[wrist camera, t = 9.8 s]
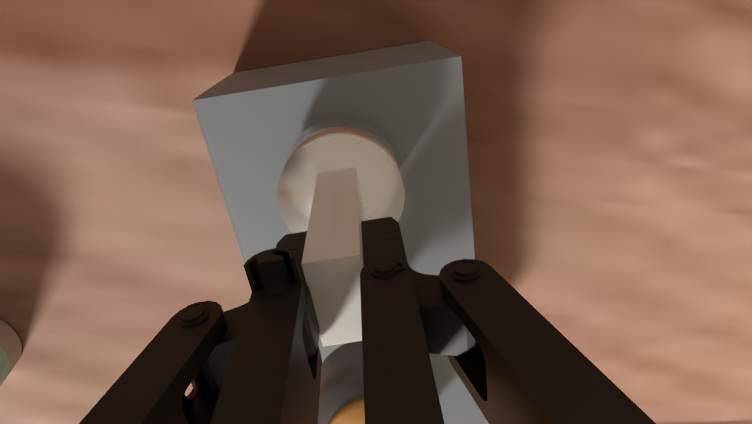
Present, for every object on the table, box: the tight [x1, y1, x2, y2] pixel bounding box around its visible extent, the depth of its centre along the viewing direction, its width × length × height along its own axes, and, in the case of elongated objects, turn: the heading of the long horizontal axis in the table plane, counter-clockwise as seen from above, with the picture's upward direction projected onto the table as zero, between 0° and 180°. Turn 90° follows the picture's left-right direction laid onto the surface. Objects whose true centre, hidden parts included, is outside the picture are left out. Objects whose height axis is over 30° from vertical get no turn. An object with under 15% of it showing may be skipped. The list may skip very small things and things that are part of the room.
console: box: [192, 40, 486, 424], centre depth 29 cm, size 24×12×8 cm, turn 9°
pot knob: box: [318, 341, 365, 424], centre depth 22 cm, size 5×5×12 cm
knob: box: [277, 118, 405, 233], centre depth 23 cm, size 5×5×12 cm
